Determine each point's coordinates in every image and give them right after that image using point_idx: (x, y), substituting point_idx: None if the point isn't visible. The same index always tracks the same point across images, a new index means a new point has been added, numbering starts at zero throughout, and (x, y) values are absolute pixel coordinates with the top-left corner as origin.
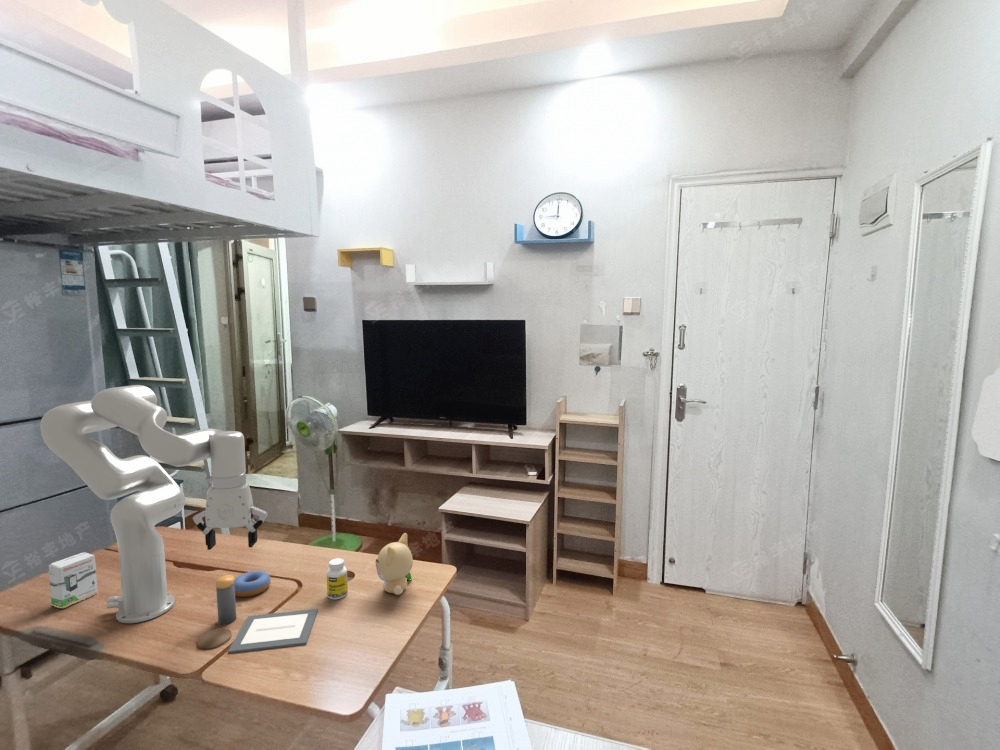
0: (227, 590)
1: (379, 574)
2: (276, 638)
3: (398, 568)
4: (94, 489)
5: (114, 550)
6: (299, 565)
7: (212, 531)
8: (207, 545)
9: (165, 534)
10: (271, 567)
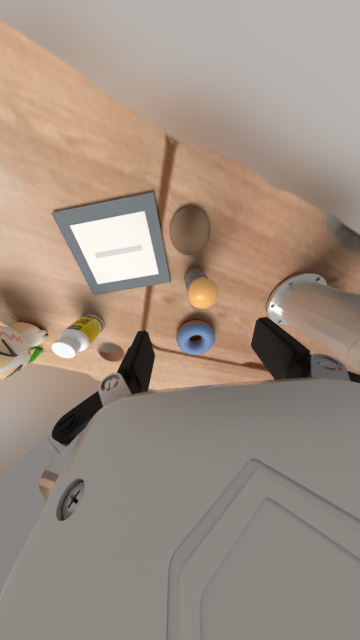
0: (192, 279)
1: (2, 332)
2: (101, 224)
3: None
4: None
5: None
6: (166, 368)
7: (288, 376)
8: (274, 323)
9: None
10: (192, 366)
